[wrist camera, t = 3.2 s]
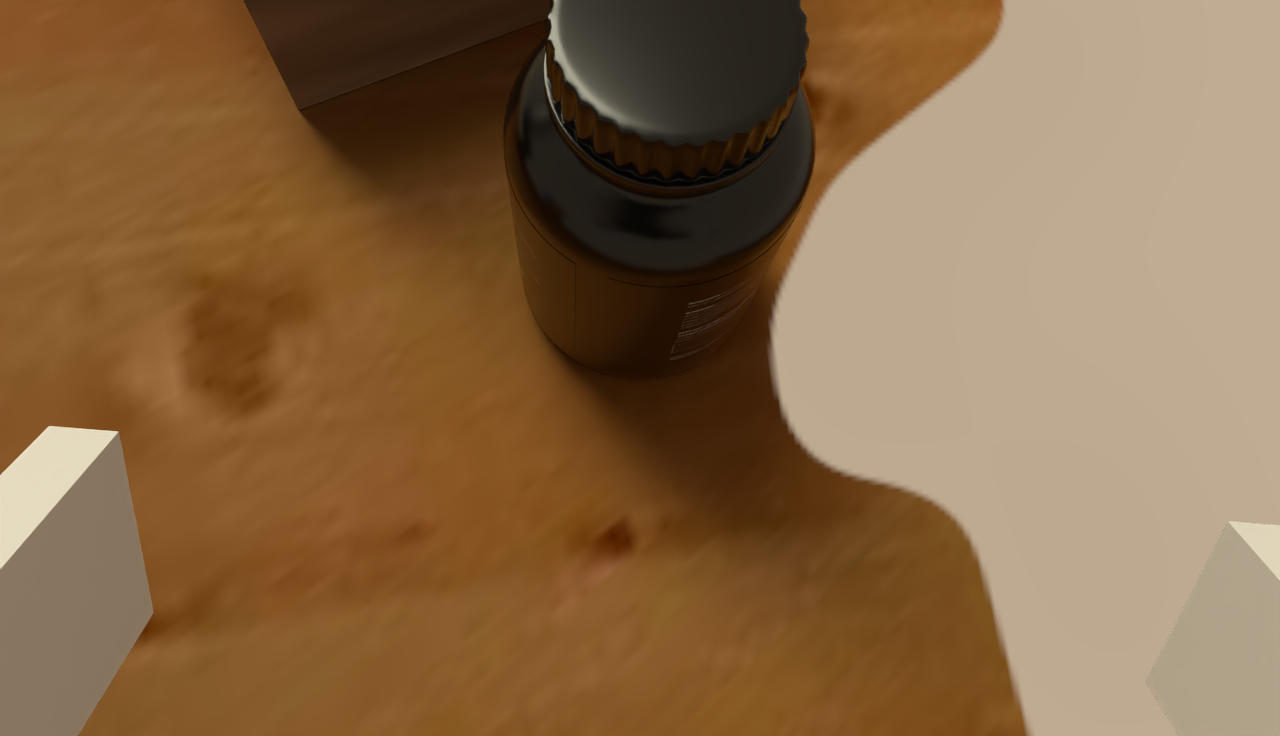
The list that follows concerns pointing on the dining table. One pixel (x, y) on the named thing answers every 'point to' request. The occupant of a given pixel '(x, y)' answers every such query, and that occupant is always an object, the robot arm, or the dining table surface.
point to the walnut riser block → (375, 37)
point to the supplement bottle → (656, 172)
